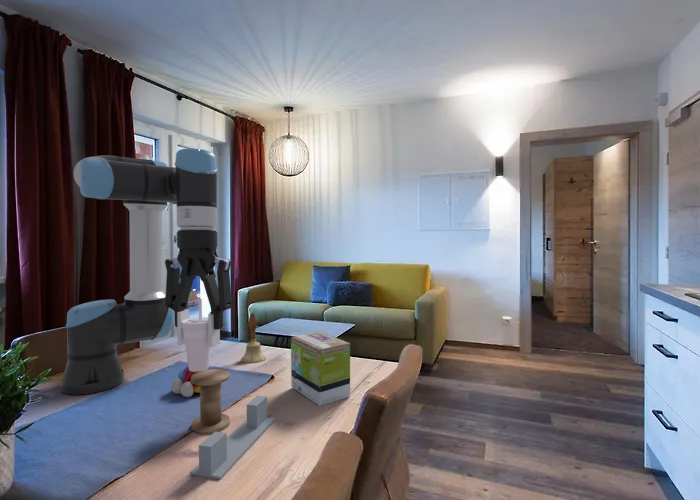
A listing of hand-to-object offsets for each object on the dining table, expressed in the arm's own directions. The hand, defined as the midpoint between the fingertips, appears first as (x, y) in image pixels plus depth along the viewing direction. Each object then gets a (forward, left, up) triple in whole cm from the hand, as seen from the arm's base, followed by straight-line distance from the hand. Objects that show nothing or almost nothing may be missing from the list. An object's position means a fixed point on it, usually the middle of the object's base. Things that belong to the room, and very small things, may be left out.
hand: (198, 344), depth 78 cm
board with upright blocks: (+7, +2, -20) cm, 22 cm away
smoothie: (0, 0, -5) cm, 5 cm away
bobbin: (-3, +8, -20) cm, 22 cm away
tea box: (+15, +31, -21) cm, 40 cm away
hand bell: (-16, +53, -21) cm, 59 cm away
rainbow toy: (-19, +23, -21) cm, 36 cm away
